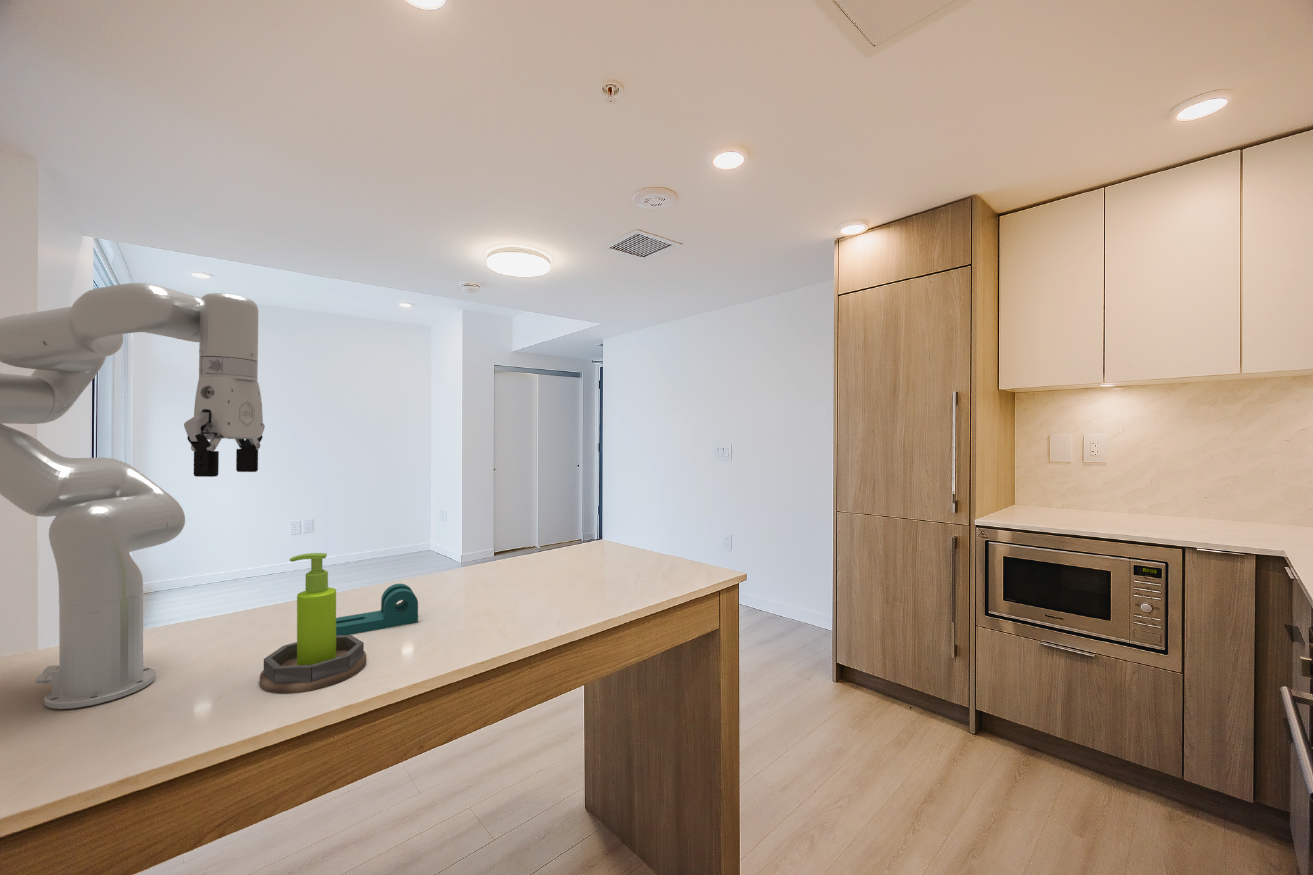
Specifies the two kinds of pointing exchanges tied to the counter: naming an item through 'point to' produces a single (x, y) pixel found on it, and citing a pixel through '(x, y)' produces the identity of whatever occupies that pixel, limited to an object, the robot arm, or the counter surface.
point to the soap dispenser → (316, 615)
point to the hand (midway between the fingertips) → (227, 473)
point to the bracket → (383, 613)
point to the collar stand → (312, 667)
